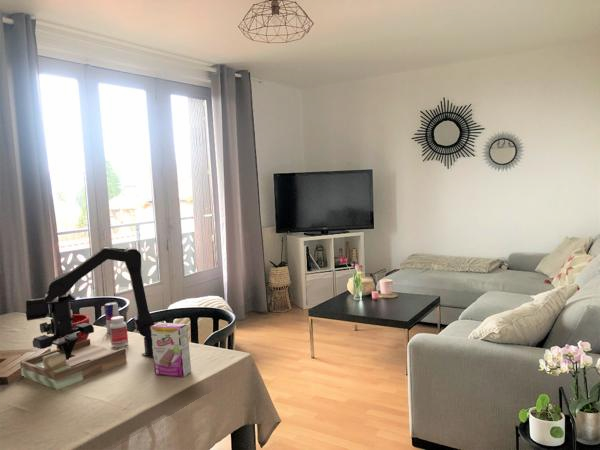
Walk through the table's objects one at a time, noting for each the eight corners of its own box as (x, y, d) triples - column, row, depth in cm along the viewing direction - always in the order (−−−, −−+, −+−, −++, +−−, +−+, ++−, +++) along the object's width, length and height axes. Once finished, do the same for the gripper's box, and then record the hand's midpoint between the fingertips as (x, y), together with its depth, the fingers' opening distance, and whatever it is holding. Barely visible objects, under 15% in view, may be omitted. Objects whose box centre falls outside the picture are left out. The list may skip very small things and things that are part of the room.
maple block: (66, 365, 166) (65, 354, 166) (51, 371, 162) (50, 359, 162) (58, 363, 169) (57, 352, 169) (44, 368, 165) (42, 356, 165)
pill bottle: (131, 344, 193) (128, 316, 192) (115, 349, 189) (112, 320, 188) (124, 341, 198) (121, 314, 197) (109, 345, 194) (106, 318, 193)
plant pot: (47, 353, 189) (43, 322, 188) (74, 341, 201) (71, 312, 200) (73, 356, 184) (69, 324, 183) (99, 344, 196) (96, 314, 195)
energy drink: (108, 333, 209) (105, 306, 208) (106, 330, 214) (103, 303, 213) (121, 331, 212) (118, 303, 210) (119, 328, 216) (116, 301, 215)
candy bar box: (153, 375, 161) (149, 326, 159) (162, 369, 166) (158, 321, 164) (183, 378, 158) (179, 328, 156) (192, 371, 162) (187, 323, 160)
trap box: (126, 362, 175) (125, 348, 174) (57, 389, 155) (55, 374, 154) (89, 351, 188) (88, 338, 188) (21, 375, 168) (20, 361, 168)
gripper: (75, 305, 180) (79, 347, 181) (21, 319, 165) (27, 365, 166) (92, 308, 173) (97, 352, 175) (38, 324, 158) (44, 371, 160)
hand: (67, 359), depth 169 cm, fingers closed
